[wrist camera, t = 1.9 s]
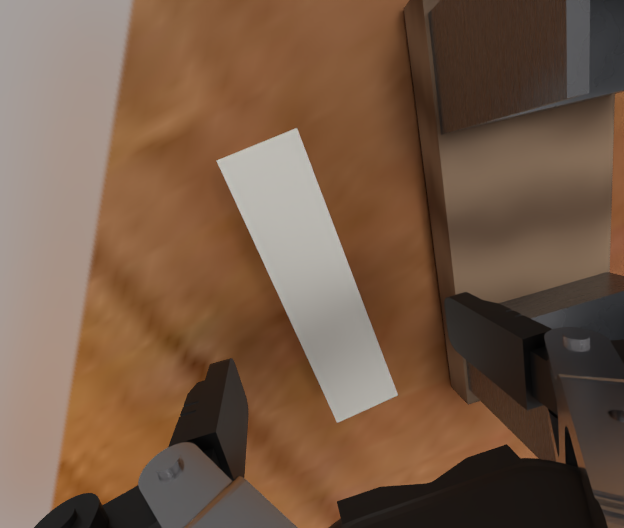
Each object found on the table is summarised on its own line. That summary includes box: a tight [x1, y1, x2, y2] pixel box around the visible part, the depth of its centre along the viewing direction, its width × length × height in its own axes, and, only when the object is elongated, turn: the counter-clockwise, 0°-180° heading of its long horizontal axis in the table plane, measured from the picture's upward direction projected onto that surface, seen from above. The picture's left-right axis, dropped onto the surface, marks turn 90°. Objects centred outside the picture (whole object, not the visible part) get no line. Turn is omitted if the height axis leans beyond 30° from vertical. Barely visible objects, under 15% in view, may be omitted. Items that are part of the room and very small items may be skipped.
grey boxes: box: [428, 0, 624, 462], centre depth 16 cm, size 23×11×8 cm, turn 13°
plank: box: [404, 0, 615, 404], centre depth 20 cm, size 25×11×2 cm, turn 13°
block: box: [217, 128, 398, 423], centre depth 19 cm, size 16×4×4 cm, turn 22°
